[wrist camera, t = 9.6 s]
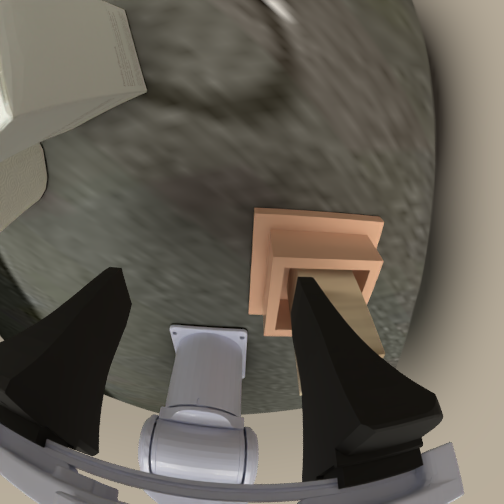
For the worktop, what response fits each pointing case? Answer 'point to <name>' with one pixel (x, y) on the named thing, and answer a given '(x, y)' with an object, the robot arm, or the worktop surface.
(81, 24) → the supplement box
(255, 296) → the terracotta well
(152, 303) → the worktop surface
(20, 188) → the paper towel roll
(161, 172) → the worktop surface
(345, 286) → the birch peg
